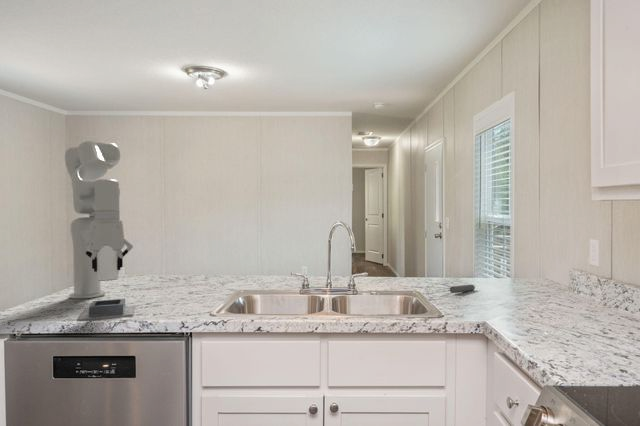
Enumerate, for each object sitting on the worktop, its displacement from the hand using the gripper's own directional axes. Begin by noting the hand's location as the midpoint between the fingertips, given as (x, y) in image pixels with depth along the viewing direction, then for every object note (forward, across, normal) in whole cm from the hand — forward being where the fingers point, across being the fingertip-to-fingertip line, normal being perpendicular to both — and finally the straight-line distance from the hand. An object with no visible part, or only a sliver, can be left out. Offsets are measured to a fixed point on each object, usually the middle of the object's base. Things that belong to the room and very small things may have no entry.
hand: (107, 270), depth 141 cm
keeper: (+15, 0, 0) cm, 15 cm away
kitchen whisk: (+15, +124, -18) cm, 126 cm away
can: (+3, 0, 0) cm, 3 cm away
